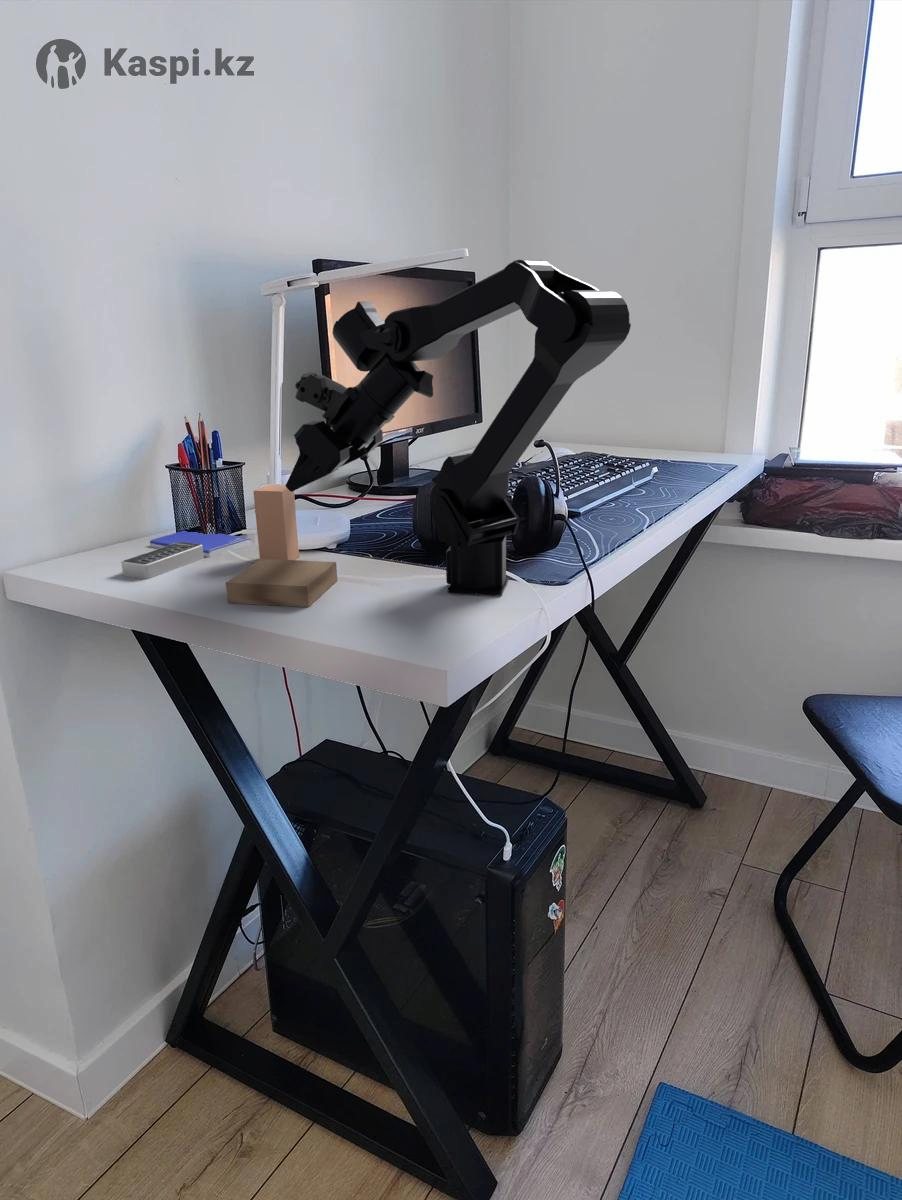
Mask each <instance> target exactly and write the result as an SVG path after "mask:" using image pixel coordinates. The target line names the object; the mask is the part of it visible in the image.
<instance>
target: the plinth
mask: <svg viewBox="0 0 902 1200" xmlns="http://www.w3.org/2000/svg"><path fill="white" fill-rule="evenodd" d="M337 582H338V569H337V562H336V561H326V560H323V561H320V560H299V559H298V560H297V559H296V560H277V559H260V558H259V560H257V561H256V562H254V563H253V564H251V565H249V566H248V567H247V568H245V569H243V570H242V571H241V572H239V573H237V574H236V575H234V577H232V578H231V579H228V580H227V581H226V582H225V587H226V588H225V589H226V596H227V603H228V604H239V605H240V604H242V605H243V604H245V605H261V606H262V605H263V606H279V607H280V606H282V607H301V608H309V607H311V606H312V605H313V604H314V603H315V602H317V601H318V599H320V598H321V596H323V595H324V594H325V593H326V592H328V590H330V589H331V587H333V586H334V585H335V584H336V583H337Z"/></svg>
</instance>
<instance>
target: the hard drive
mask: <svg viewBox="0 0 902 1200" xmlns="http://www.w3.org/2000/svg"><path fill="white" fill-rule="evenodd" d="M217 533H218V534H203V533H198V532H187V531H185V530H181V531H178V532H173V533H171V534H167V535H164V536H159V537H156V538H153V539H151V540H150V541H149V545H150V548H151V547H152V548H156V549H159V548H162V547H165V546H168V545H171V544H174V543H177V542H186V543H194V544H201V545H202V546H203V554H204V558H205V557H206V558H212V557H215V556H218V555H221V554H224V553H228V552H229V551H228V550H231V551H233V550H237V549H240V548H244V547H247V546H249V545H252V540H251V538H250V537H243V536H238V535H231V534H225V533H219V532H217Z"/></svg>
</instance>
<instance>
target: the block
mask: <svg viewBox="0 0 902 1200" xmlns="http://www.w3.org/2000/svg"><path fill="white" fill-rule="evenodd" d="M253 501H254V502H253V503H254V511H255V522H256V533H257V542H258V543H257V544H258V551H259V552H258V553H259V560H260V559H277V560H297V559H299V558H300V551H299V538H298V537H299V536H298V525H297V524H298V523H297V513H296V500H295V490H294V491H292V492H291V491H289V490H288V489H287V488H286V484H285V485H284V484H265V485H262V486H260V487H258V488H256V489H254V490H253Z"/></svg>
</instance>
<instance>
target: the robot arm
mask: <svg viewBox="0 0 902 1200" xmlns="http://www.w3.org/2000/svg"><path fill="white" fill-rule="evenodd" d="M519 310H521V312H522V314H523V316H524V318H525V319H526V320H527V321H528V322H529V323H531V324H532V325H533V326H534V327H536V328H537V329H536V330H535V333H534V352H533V353H534V354H533V355H534V356H533V359H532V361H531V363H530V364H529V365H528V367H527V369H526V370H525V371H524V373H523V375H522V376H521V378H520V379H519V380H518V382H517V383H516V386H515V387H514V389H513V390H512V391H511V393H510V395H508V398H507V399H506V400H505V402H504V403H503V405H502V407H501V408H500V410H498V413H497V414H496V416H495V418H494V419H493V420H492V422H491V424H490V425H489V427H488V428H487V430H486V431H485V432H484V434H483V436H482V437H481V439H480V440H479V442H478V443H477V445H476V446H475V448H474V449H473V451H472V452H466V453H462V454H455V455H450V456H448V457H446V459H445V460H444V461H443V463H442V465H441V467H440V470H439V472H438V473H437V474H436V475H435V477H433V478H431V482H432V483H434V484H433V485H432V487H431V490H430V493H429V499H430V502H429V503H430V505H429V506H430V510H431V513H432V517H433V520H434V524H435V528H436V532H437V536H438V539H439V541H440V542H442V543H446V545H447V546H449V547H448V549H447V550H446V551H445V571H446V572H445V575H446V576H445V577H446V584H447V585H449V586H448V587H447V593H448V594H461V595H462V594H463V595H482V596H483V595H485V596H502V595H503V593H504V591H505V589H506V586H507V584H508V582H509V579H510V578H509V576H508V575H507V536H510V535H511V536H513V535H516V534H517V531H518V529H519V524H520V521H521V519H520V517H519V515H518V514H517V513H516V511H515V510H514V508H513V507H512V505H511V503H510V502H509V501H508V499H507V498H506V497H507V496H508V494H509V491H510V486H509V485H510V477H509V476H510V474H511V471H512V470H513V469H514V467H515V465H516V464H517V462H518V461H519V460H520V458H521V457H522V456H523V454H524V453H525V452H526V450H527V449H528V447H529V446H530V444H531V443H532V442H533V441H534V439H535V438H536V436H537V435H538V433H539V432H540V431H541V429H542V428H543V426H544V425H545V424H546V422H547V420H548V419H550V417H551V415H552V414H553V412H554V411H555V410H556V408H557V407H558V405H559V404H560V402H561V401H562V399H564V397H565V395H566V394H567V393H568V391H569V390H570V389H571V388H572V386H573V384H574V383H575V382H576V381H578V379H580V378H581V377H582V376H584V375H586V374H588V372H591V370H594V369H595V368H596V367H598V366H599V365H601V364H602V363H603V362H605V361H606V360H607V359H608V357H610V356H611V355H612V354H613V353H614V352H615V351H616V350H617V349H618V348H619V347H620V346H621V345H622V344H623V343H624V342H625V341H626V339H627V337H628V335H629V333H630V330H631V327H632V325H631V322H630V311H629V308H628V305H627V303H626V301H625V299H624V298H623V296H621V295H620V294H619V293H617V292H616V291H612V290H609V289H608V290H605V289H603V290H601V289H598V288H597V287H595V286H593V285H591V284H590V283H587V282H586V281H582V280H580V279H579V278H577V277H574V276H571V275H569V274H567V273H564V272H563V271H561V270H560V269H558V268H557V267H555V266H554V265H552V264H550V263H549V261H546V260H542V259H540V260H538V259H537V260H536V259H517V260H513V261H512V262H510V263H508V264H507V265H506V266H505V267H504V268H503V269H501V270H499V271H497V272H495V273H493V274H492V275H489V276H487V277H485V278H483V279H481V280H480V281H477V282H475V283H474V284H472V285H470V286H467V287H466V288H464V289H462V290H459V292H456V293H454V294H452V295H450V296H448V297H447V298H445V299H442V300H440V301H439V302H436V303H432V304H427V305H419V306H413V307H407V308H403V309H399V310H394V311H392V312H390V313H389V314H388V315H387V316H386V317H385V319H383V317H381V315H380V314H379V313H378V311H377V308H376V307H375V305H374V304H373V302H371V300H370V301H369V300H368V301H367V300H366V301H357V302H356V304H355V307H354V308H352V309H349V310H348V311H346V312H345V313H343V315H341V316H340V318H338V319H337V320H336V321H335V322H334V324H333V328H332V336H333V338H334V340H335V341H336V343H337V344H338V345H339V347H340V348H341V349H342V350H343V352H344V353H345V355H346V356H347V357H348V359H349V360H350V361H351V363H352V364H353V366H354V367H355V368H356V369H357V370H358V371H360V372H367V374H366V375H365V376H364V377H363V378H362V380H361V381H359V382H358V384H356V385H355V386H349V387H346V386H345V385H343V384H341V383H339V382H337V381H335V380H333V379H331V378H329V377H327V376H325V375H323V374H321V373H319V372H315V371H312V372H306V373H303V374H302V375H301V377H300V380H299V381H297V382H296V383H295V389H296V390H297V391H296V393H295V396H294V397H295V399H297V400H298V402H299V401H300V402H301V403H304V402H305V403H307V404H309V405H311V406H313V407H315V408H316V409H319V410H321V411H324V413H323V414H322V417H323V418H324V419H325V420H326V422H328V423H330V424H331V427H330V426H329V424H327V423H326V422H325V421H324V420H312V421H310V422H305V423H304V424H303V423H302V425H301V427H299V429H297V431H296V432H295V433H294V434H293V437H294V439H295V444H296V446H298V450H299V451H298V452H299V455H298V457H297V460H296V462H295V465H294V467H293V469H292V470H291V473H290V475H289V477H288V480H287V481H286V483H285V485H286V488H287V489H288V490H289V491H291V492H292V491H294V492H295V491H297V490H298V489H300V488H303V487H304V486H307V485H309V484H311V483H313V482H316V481H318V480H320V479H322V478H323V477H325V476H326V477H327V476H328V475H330V474H331V475H332V473H335V472H336V471H338V470H339V468H342V467H344V466H345V465H348V464H349V463H352V462H354V461H356V460H358V459H360V458H362V457H364V456H366V455H367V454H369V453H370V452H372V451H374V450H375V449H376V448H377V447H378V446H379V445H380V444H381V443H382V442H383V441H384V440H383V439H384V436H383V435H384V434H383V429H382V428H383V427H384V426H385V425H386V424H389V423H391V421H392V420H393V419H394V418H395V414H396V413H397V412H398V410H399V409H400V408H401V407H403V405H404V404H405V403H406V402H407V400H409V399H410V397H412V396H413V394H414V393H415V392H416V393H417V394H419V395H422V396H425V397H427V398H429V399H431V398H432V397H433V396H434V385H433V379H434V375H433V374H432V373H430V372H429V371H426V370H421V369H420V368H419V366H417V364H416V362H422V361H423V362H424V361H434V360H435V361H436V360H440V359H442V358H443V357H444V356H446V355H447V354H448V353H450V352H451V351H452V350H454V348H456V347H457V346H458V343H459V342H460V340H461V338H463V337H464V336H465V335H467V334H468V333H471V332H473V331H475V330H477V329H480V328H482V327H484V326H486V325H489V324H491V323H492V322H495V321H497V320H499V319H502V318H504V317H506V316H509V315H510V314H512V313H515V312H517V311H519ZM481 521H483V523H480V524H475V525H473V526H471V524H473V523H476V522H481Z"/></svg>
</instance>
